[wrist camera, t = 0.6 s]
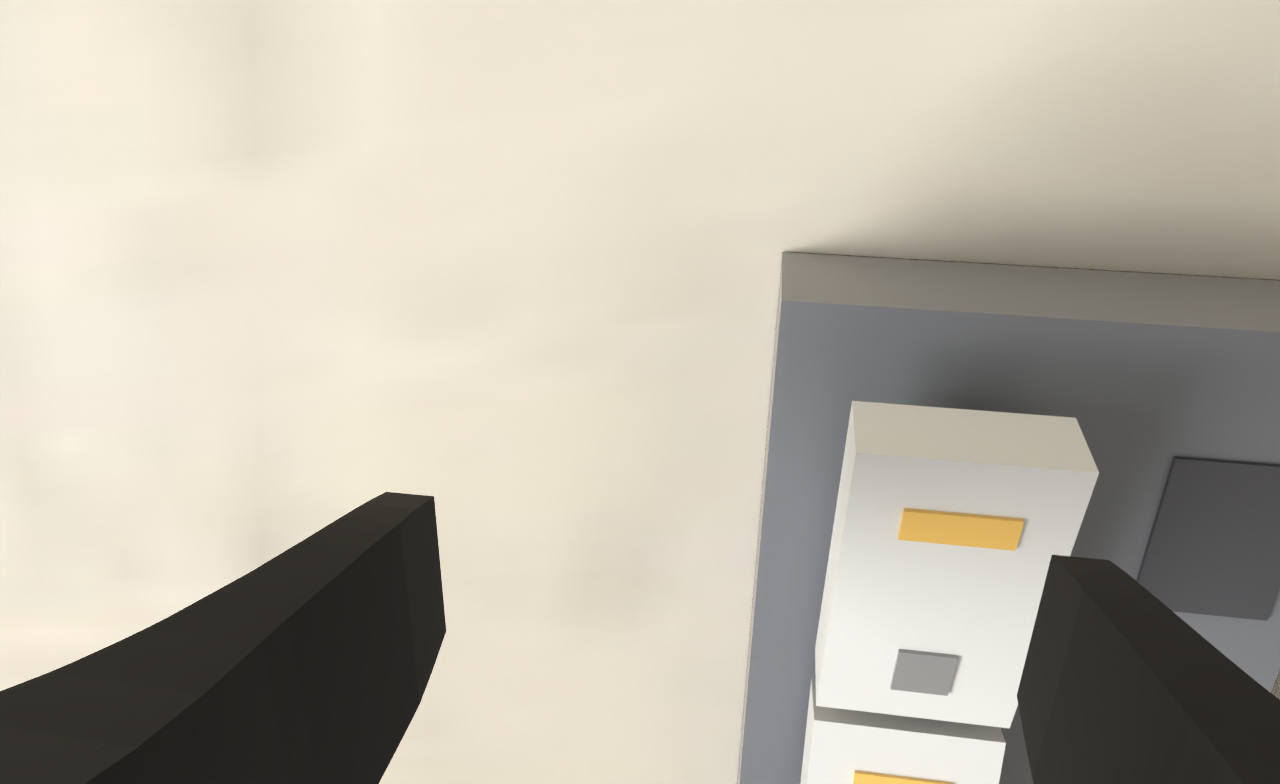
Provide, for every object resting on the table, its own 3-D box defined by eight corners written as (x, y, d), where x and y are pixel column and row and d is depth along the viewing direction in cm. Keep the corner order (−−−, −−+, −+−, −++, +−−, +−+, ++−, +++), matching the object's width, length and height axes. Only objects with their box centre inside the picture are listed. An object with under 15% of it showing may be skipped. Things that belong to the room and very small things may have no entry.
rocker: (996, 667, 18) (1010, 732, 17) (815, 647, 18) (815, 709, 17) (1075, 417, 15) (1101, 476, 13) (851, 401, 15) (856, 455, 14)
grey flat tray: (1066, 1006, 27) (1099, 1127, 24) (722, 954, 28) (715, 1063, 25) (1315, 282, 17) (1415, 342, 15) (782, 252, 19) (781, 302, 16)
